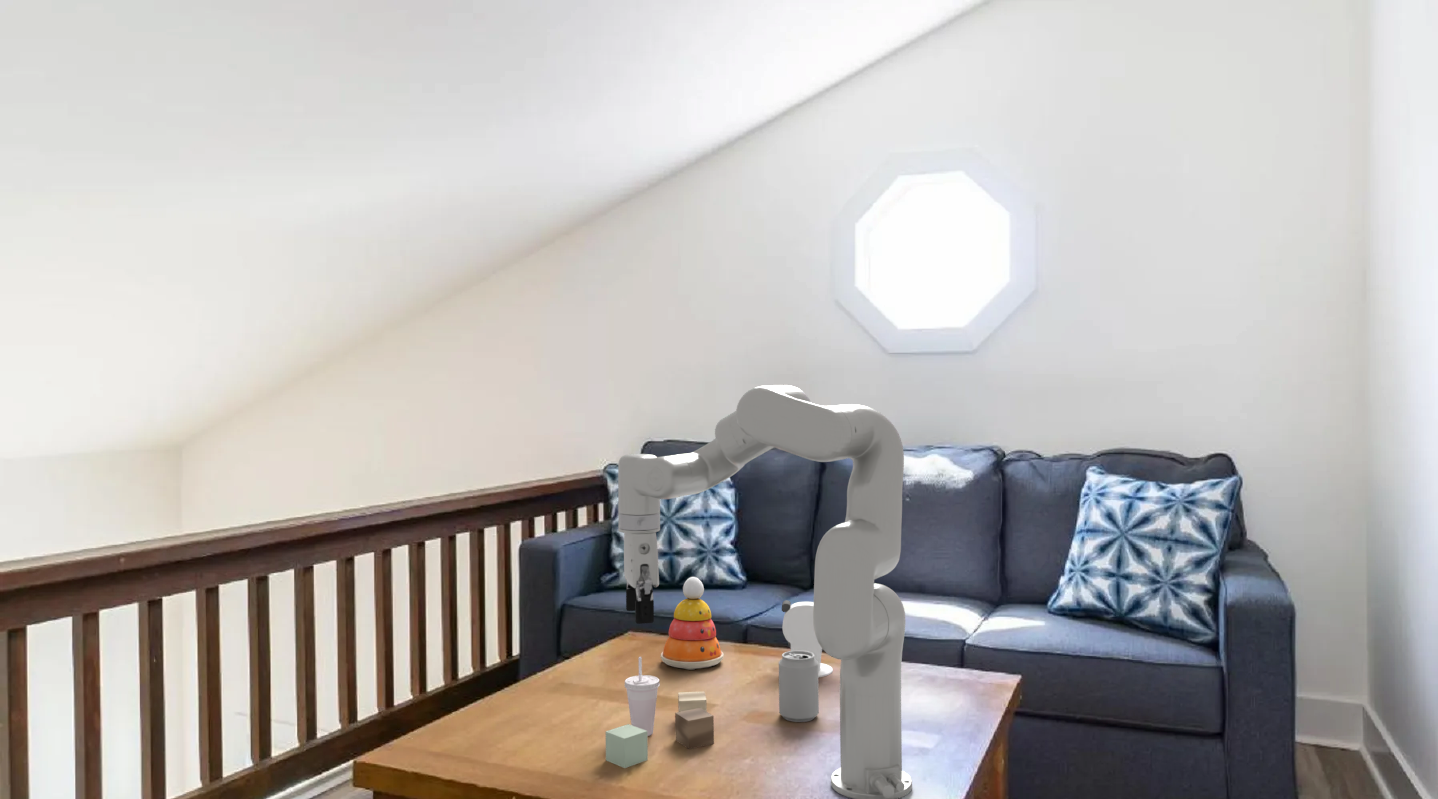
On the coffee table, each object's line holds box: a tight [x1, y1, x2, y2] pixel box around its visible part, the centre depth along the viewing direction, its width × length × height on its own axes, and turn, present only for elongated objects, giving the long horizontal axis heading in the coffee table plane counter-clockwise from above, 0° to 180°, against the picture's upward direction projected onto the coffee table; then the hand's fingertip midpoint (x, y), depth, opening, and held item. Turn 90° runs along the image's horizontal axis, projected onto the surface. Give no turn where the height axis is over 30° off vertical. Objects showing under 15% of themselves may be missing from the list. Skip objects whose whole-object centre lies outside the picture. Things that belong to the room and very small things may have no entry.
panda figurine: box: [781, 599, 834, 678], centre depth 221 cm, size 12×11×15 cm
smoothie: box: [624, 656, 661, 737], centre depth 184 cm, size 6×6×14 cm
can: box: [778, 650, 820, 723], centre depth 191 cm, size 8×8×12 cm
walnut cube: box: [674, 708, 715, 750], centre depth 179 cm, size 5×5×5 cm
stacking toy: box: [660, 576, 725, 671], centre depth 228 cm, size 14×14×20 cm
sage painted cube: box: [605, 723, 649, 769], centre depth 171 cm, size 5×5×5 cm
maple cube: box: [677, 691, 708, 712], centre depth 189 cm, size 5×5×5 cm
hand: (639, 616), depth 184 cm, fingers open, 9 cm apart
